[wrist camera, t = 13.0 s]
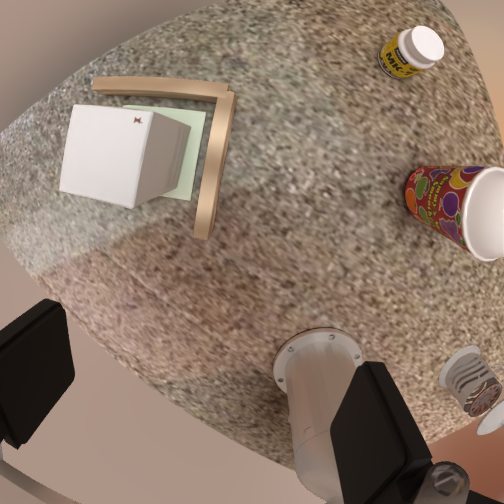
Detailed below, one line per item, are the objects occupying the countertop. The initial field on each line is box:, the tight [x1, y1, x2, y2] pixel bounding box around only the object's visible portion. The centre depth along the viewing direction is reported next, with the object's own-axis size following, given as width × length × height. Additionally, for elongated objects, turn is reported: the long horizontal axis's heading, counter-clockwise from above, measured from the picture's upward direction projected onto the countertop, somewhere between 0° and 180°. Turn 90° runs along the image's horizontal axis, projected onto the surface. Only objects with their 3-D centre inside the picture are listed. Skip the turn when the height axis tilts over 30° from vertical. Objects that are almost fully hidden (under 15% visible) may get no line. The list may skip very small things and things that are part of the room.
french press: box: [439, 345, 504, 435], centre depth 29 cm, size 10×12×25 cm
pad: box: [123, 105, 207, 201], centre depth 31 cm, size 10×10×1 cm
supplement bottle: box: [378, 26, 444, 79], centre depth 24 cm, size 5×5×8 cm
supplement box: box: [59, 105, 191, 209], centre depth 25 cm, size 7×7×13 cm
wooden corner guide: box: [91, 76, 237, 240], centre depth 30 cm, size 16×16×4 cm
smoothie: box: [405, 166, 504, 261], centre depth 23 cm, size 8×8×20 cm
